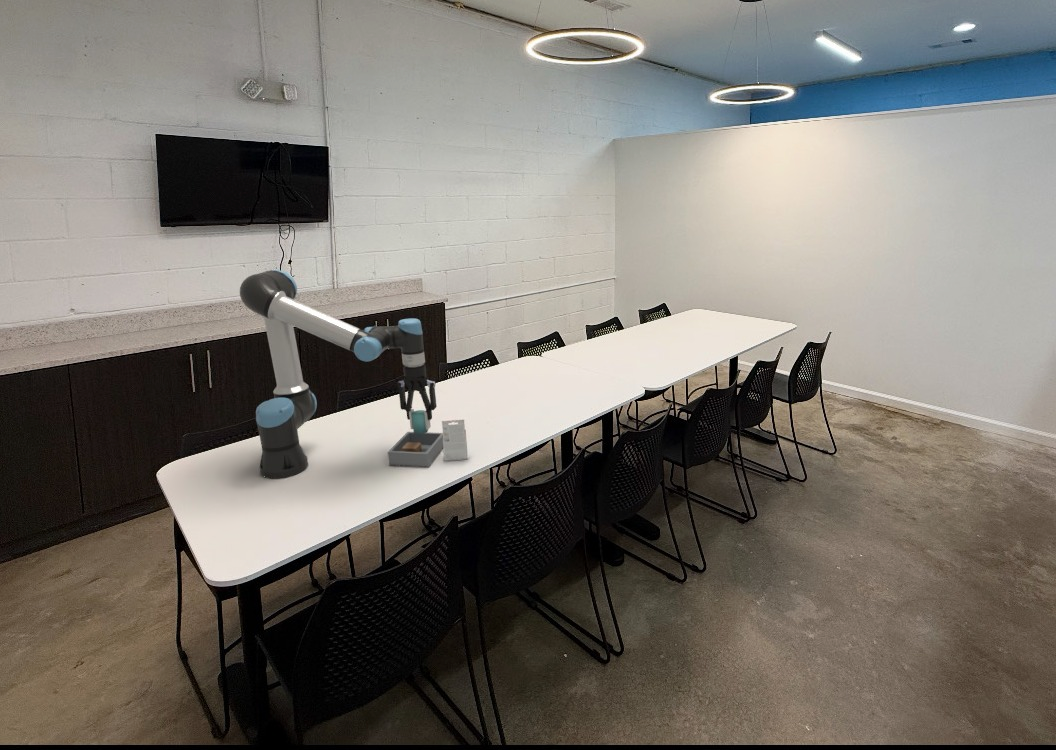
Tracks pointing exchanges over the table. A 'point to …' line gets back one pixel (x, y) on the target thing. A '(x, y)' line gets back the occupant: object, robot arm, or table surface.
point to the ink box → (454, 440)
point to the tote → (430, 451)
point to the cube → (412, 447)
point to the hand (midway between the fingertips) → (420, 427)
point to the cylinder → (419, 422)
